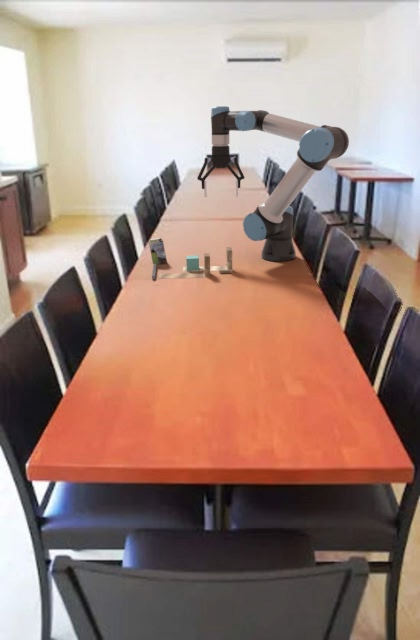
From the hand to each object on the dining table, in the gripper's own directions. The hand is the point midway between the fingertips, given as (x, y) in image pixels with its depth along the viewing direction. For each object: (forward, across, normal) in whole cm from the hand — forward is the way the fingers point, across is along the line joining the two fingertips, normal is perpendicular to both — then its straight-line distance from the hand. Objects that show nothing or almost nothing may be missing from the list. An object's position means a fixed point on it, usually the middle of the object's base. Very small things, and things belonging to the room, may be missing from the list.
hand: (221, 196), depth 246 cm
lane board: (+27, +17, +30) cm, 43 cm away
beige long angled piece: (+27, +8, +25) cm, 37 cm away
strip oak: (+27, +17, +34) cm, 46 cm away
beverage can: (+27, +28, +13) cm, 41 cm away
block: (+25, +14, +25) cm, 38 cm away
